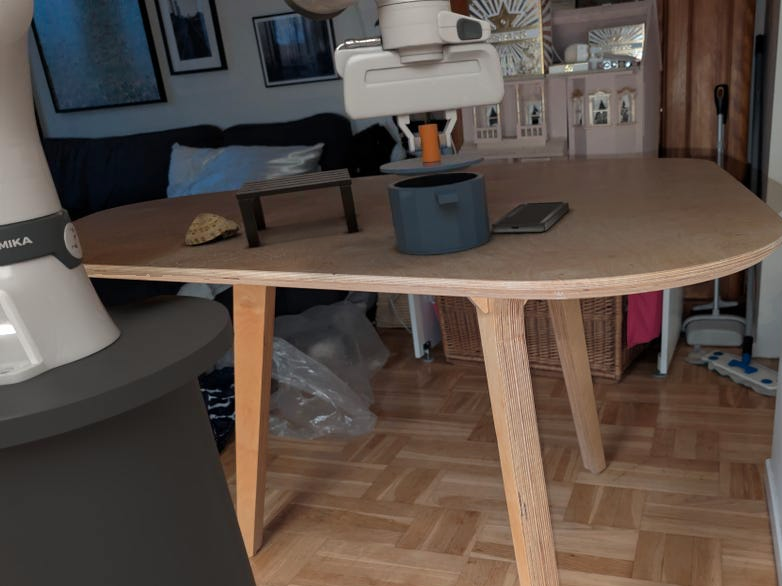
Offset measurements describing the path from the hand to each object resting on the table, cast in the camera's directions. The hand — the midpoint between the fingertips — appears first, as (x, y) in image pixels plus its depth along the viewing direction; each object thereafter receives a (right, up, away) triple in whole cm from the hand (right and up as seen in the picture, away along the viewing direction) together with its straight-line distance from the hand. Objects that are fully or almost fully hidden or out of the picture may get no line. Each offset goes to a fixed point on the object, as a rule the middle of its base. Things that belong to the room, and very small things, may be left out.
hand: (430, 149), depth 90 cm
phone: (+14, -7, +12) cm, 19 cm away
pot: (+1, -11, +5) cm, 12 cm away
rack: (-22, -6, +24) cm, 33 cm away
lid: (0, -2, +1) cm, 2 cm away
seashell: (-37, -7, +25) cm, 46 cm away
